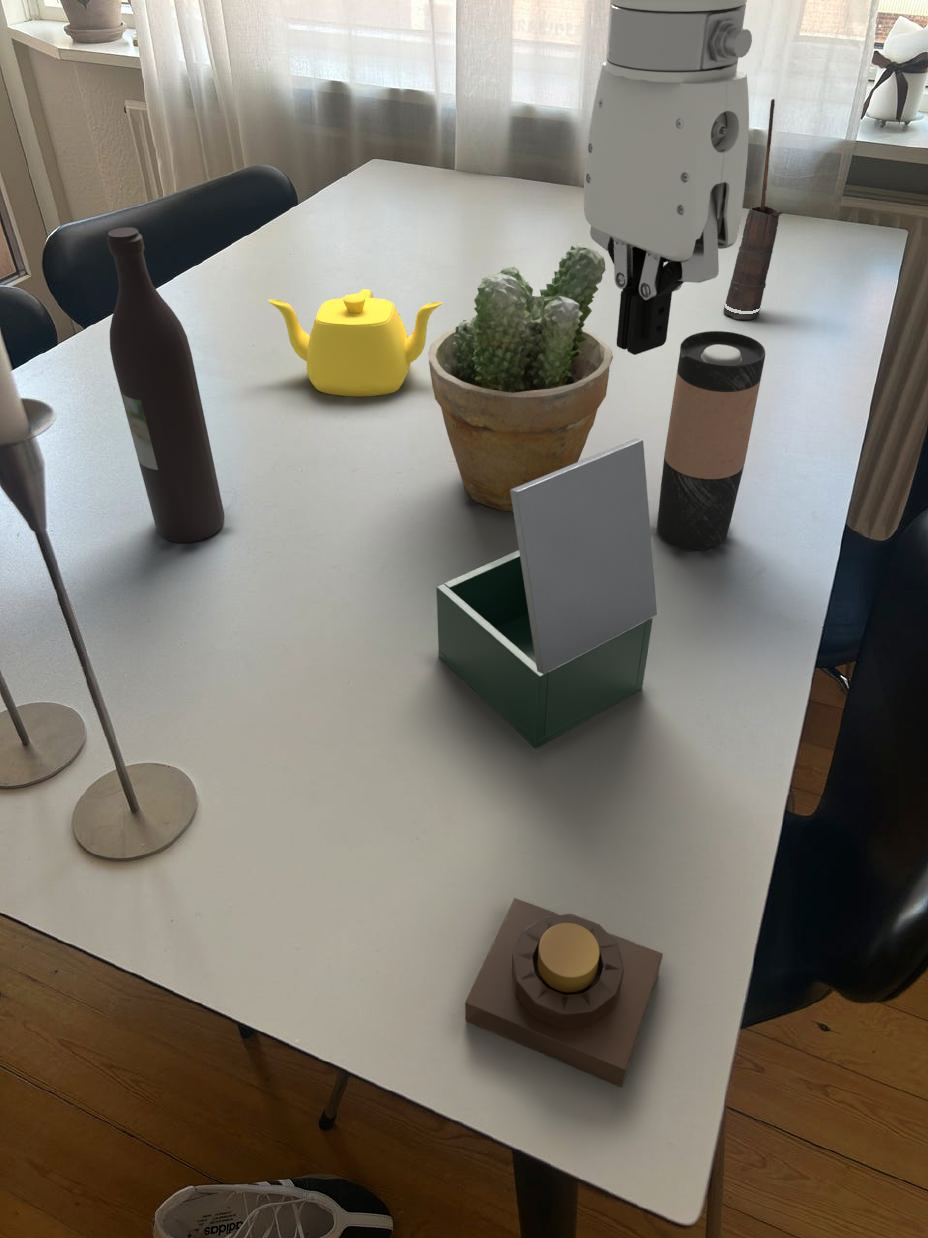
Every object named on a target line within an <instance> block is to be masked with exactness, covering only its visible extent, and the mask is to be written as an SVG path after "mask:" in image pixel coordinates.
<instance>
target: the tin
mask: <svg viewBox="0 0 928 1238" xmlns="http://www.w3.org/2000/svg"><path fill="white" fill-rule="evenodd" d="M435 589H436V613H437V614H436V615H437V616H436V617H437V619H436V620H437V639H438V640H437V643H438V645H437V647H438V649H437V650H438V657H439V659H441V660H442V661H443V662H444V663H445V664H447V666H448V667H450V669H451V670H452V671H453V672H454V673H455V674H456V675H458V676H459V677H460V678H461V680H463V681H464V682H465V683H466V684H467V685H468V686H469V687H470V688H471V689H472V690H474V692H475V693H476V694H478V695H479V697H481V698H482V699H483V700H484V702H486V703H487V704H488V705H489V706H490V707H492V709H493V710H494V711H495V712H496V713H498V715H500V716H501V717H502V718H503V719H504V720H505V721H506V722H507V723H508V724H509V725H510V726H512V727H513V729H514V730H515V731H517V732H518V733H519V734H520V735H521V736H522V737H523V738H524V740H526V741H527V742H528V743H529V744H530V745H531V746H533V747H534V748H535V749H538V748H540V747H542V746H543V745H545V744H547V743H549V742H550V741H552V740H554V739H555V738H557V737H560V736H561V735H563V734H565V733H566V732H569V731H570V730H572V729H574V728H575V727H577V726H579V725H581V724H583V723H584V722H586V721H587V720H589V719H591V718H592V717H594V716H597V715H598V714H600V713H601V712H603V711H605V710H606V709H609V708H610V707H612V706H614V705H616V704H617V703H619V702H621V701H623V700H624V699H626V698H628V697H630V696H631V695H633V694H635V693H636V692H639V691H640V690H642V689H643V686H644V680H645V673H646V667H647V659H648V652H649V646H650V639H651V634H652V627H653V621H654V619H653V617H652V618H650V619H648V620H646V621H644V622H642V623H640V624H638V625H636V626H635V627H633V628H631V629H629V630H627V631H625V632H623V633H621V634H619V635H617V636H616V637H614V638H612V639H610V640H608V641H606V642H604V643H602V644H600V645H598V646H597V647H595V648H593V649H591V650H589V651H587V652H585V653H583V654H581V655H579V656H578V657H576V658H574V659H572V660H570V661H568V662H566V663H564V664H562V665H560V666H559V667H557V668H555V669H553V670H551V671H549V672H547V673H545V674H542V673H540V672H538V671H537V666H536V660H535V653H534V646H533V640H532V633H531V626H530V619H529V613H528V606H527V599H526V593H525V586H524V579H523V572H522V566H521V559H520V552H519V549H518V550H515V551H513V552H511V553H508V554H507V555H504V556H502V557H500V558H498V559H495V560H493V561H492V562H488V563H486V564H484V565H481V566H480V567H478V568H475V569H473V570H470V571H468V572H466V573H464V574H462V575H460V576H457V577H454V578H453V579H451V580H448V581H446V582H444V583H442V584H440V585H438V586H436V588H435Z"/></svg>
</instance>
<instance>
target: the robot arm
mask: <svg viewBox="0 0 928 1238" xmlns="http://www.w3.org/2000/svg"><path fill="white" fill-rule="evenodd" d="M609 2H610V3H609V9H608V10H609V11H608V25H607V26H608V27H607V38H606V39H607V41H606V55H605V57H606V58H605V61H604V62H603V63H602V65H601V69H600V73H599V76H598V81H597V86H596V90H595V96H594V100H593V105H592V111H591V112H592V113H591V118H590V125H589V130H588V131H589V132H588V137H587V148H586V156H585V168H584V177H583V178H584V179H583V213H584V217H585V220H586V221H587V223H588V224H589V225H590V230H589V234H590V235H589V236H590V238H591V239H592V240H593V242H595V243H596V244H597V245H599V246H600V247H601V248H603V250H605V251H606V252H608V253H607V254H608V255H609V257H610V260H611V261H612V264H613V267H614V268H613V269H614V273H613V274H614V283H615V285H616V287H617V288H618V289H620V290H621V291H620V301H619V309H618V321H617V322H618V323H617V333H616V334H617V335H616V347H617V348H620V349H622V350H626V351H627V353H629V354H631V355H634V356H636V355H639V354H642V353H644V352H648V351H651V350H654V349H657V348H659V347H662V346H664V345H665V344H666V342H667V337H668V330H669V321H670V312H671V307H672V299H673V298H672V296H673V292H676V291H679V290H681V288H682V286H683V284H684V283H696V284H697V283H698V284H699V283H703V282H707V281H710V280H713V279H716V278H717V277H718V276H719V271H720V269H719V267H720V265H719V250H720V249H721V250H723V249H728V248H730V247H732V246H734V245H735V243H736V242H737V239H738V235H739V231H740V226H741V221H742V213H743V207H744V198H745V189H746V180H747V179H746V177H747V167H748V156H749V155H748V153H749V135H750V134H749V133H750V101H749V85H748V84H749V83H748V74H747V73H744V72H741V71H737V70H738V64H739V63H738V62H739V58H743V57H746V55H747V54H748V53H749V51H750V49H751V47H752V43H753V34H752V32H751V31H750V30H749V29H748V28H744V23H745V15H746V8H747V2H748V0H609Z"/></svg>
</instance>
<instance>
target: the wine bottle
mask: <svg viewBox="0 0 928 1238" xmlns="http://www.w3.org/2000/svg"><path fill="white" fill-rule="evenodd" d="M107 235H108V237H107V238H106V240H107V246H108V250H109V253H110V254H111V255H112V256H113V259H114V264H115V269H116V273H117V280H118V281H117V282H118V292H117V298H116V304H115V307H114V310H113V314H112V317H111V322H110V326H109V350H110V355H111V360H112V365H113V369H114V373H115V377H116V380H117V384H118V388H119V392H120V396H121V400H122V405H123V407H124V412H125V415H126V419H127V423H128V426H129V430H130V435H131V438H132V442H133V446H134V450H135V453H136V457H137V461H138V464H139V465H138V466H139V468H140V469H139V470H140V472H141V476H142V480H143V484H144V488H145V491H146V495H147V500H148V502H149V503H148V504H149V506H150V510H151V515H152V518H153V522H154V526H155V529H156V530H157V532H158V534H159V535H160V536H161V537H162V538H163V539H165V540H167V541H169V542H174V543H182V544H184V543H185V544H186V543H195V542H199V541H202V540H205V539H208V538H210V537H212V536H214V535H215V534H216V533H217V532H219V531H220V530H221V529H222V527H223V525H224V523H225V511H224V506H223V501H222V496H221V491H220V486H219V482H218V477H217V472H216V467H215V462H214V457H213V452H212V447H211V442H210V438H209V437H210V436H209V431H208V428H207V423H206V418H205V413H204V408H203V403H202V398H201V394H200V389H199V384H198V379H197V374H196V369H195V363H194V360H193V359H194V358H193V355H192V350H191V346H190V343H189V339H188V335H187V334H186V331H185V328H184V326H183V325H182V322H181V321H180V319H179V318H178V316H177V315H176V313H175V312H174V311H173V309H172V307H170V306H169V304H168V303H167V302H166V300H165V299H164V298H163V297H162V296H161V294H160V293H159V291H158V290H157V289H156V287H155V286H154V285H153V282H152V279H151V277H150V274H149V271H148V269H147V264H146V260H145V254H144V251H145V249H146V247H145V244H144V238H143V235H142V234H141V233H140V232H139V229H138V228H136V227H131V226H130V227H129V226H128V227H127V226H125V227H118V228H114V229H111V230H110V231H108V233H107Z"/></svg>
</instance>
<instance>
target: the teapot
mask: <svg viewBox="0 0 928 1238" xmlns="http://www.w3.org/2000/svg"><path fill="white" fill-rule="evenodd" d="M267 301H268V303H269V304H271V305H272V306H274V307H275V308H276V309H277V310H278V311H279V312H280V313H281V315H282V317H283V319H284V322H285V324H286V330H287V334H288V339H289V342H290V345H291V347H292V349H293V351H294V352H295V354H296V355H297V356H298V357H299V358H301V359H302V360H303V361H305V362H306V372H307V377H308V378H309V381H310V383H311V384H312V385H313V386H314V388H315V389H316V390H317V391H319V392H321V393H323V394H328V395H332V396H333V395H334V396H341V397H343V396H344V397H374V396H375V397H376V396H383V395H389V394H393V393H395V392H397V391H399V390H400V388H401V387H402V385H403V384H404V382H405V380H406V378H407V375H408V374H409V370H410V368H411V364H412V363H413V362H415V361H416V360H418V358H419V357H420V356H421V355H422V353H423V350H424V349H425V346H426V340H427V329H428V322H429V318H430V316H431V314H432V313H433V312H434V311H435V310H436V309H437V308H438V307H440V306H441V305H442V304H443V302H442V301H434V302H429V303H426V304H424V305H423V306H421V307H420V308H419V310H418V311H417V314H416V317H415V324H414V330H413V332H412V333H411V334H410V335H409V336H408V332H407V329H406V327H405V325H404V322H403V320H402V318H401V316H400V313H399V311H398V309H397V308H396V305H395V304H394V302H392V301H391V300H388V299H384V298H375V297H374V294H373V292H372V290H370V289H368V288H363V289H361V290H360V291H359V292H358V293H349V294H346V295H345V296H343V297H338V298H332V299H328V300H325V301H324V302H323V303H322V304H321V305H320V307H319V309H318V311H317V313H316V315H315V318H314V321H313V324H312V328H311V330H310V334H309V333H307V332H306V331H305V330H303V328H302V327H301V323H300V322H299V318H298V316H297V313H296V312H295V310H294V309H293V307H292V306H291V304H289V303H287V302H286V301H283V300H279V299H274V298H272V299H271V298H270V299H267Z"/></svg>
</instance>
